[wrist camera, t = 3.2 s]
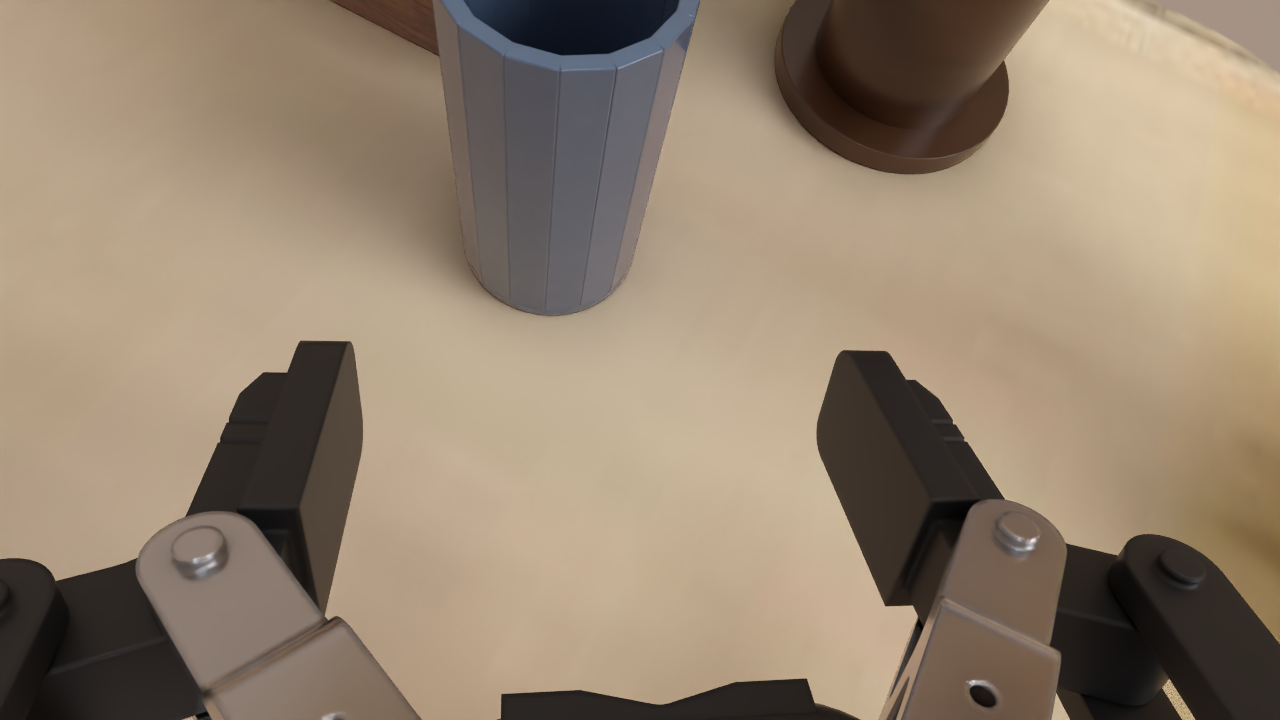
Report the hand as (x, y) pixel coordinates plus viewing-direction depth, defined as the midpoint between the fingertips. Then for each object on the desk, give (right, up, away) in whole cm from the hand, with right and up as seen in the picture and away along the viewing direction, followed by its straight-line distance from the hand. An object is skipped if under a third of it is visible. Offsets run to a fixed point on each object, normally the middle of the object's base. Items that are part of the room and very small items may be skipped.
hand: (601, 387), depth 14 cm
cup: (-3, +5, +15) cm, 16 cm away
